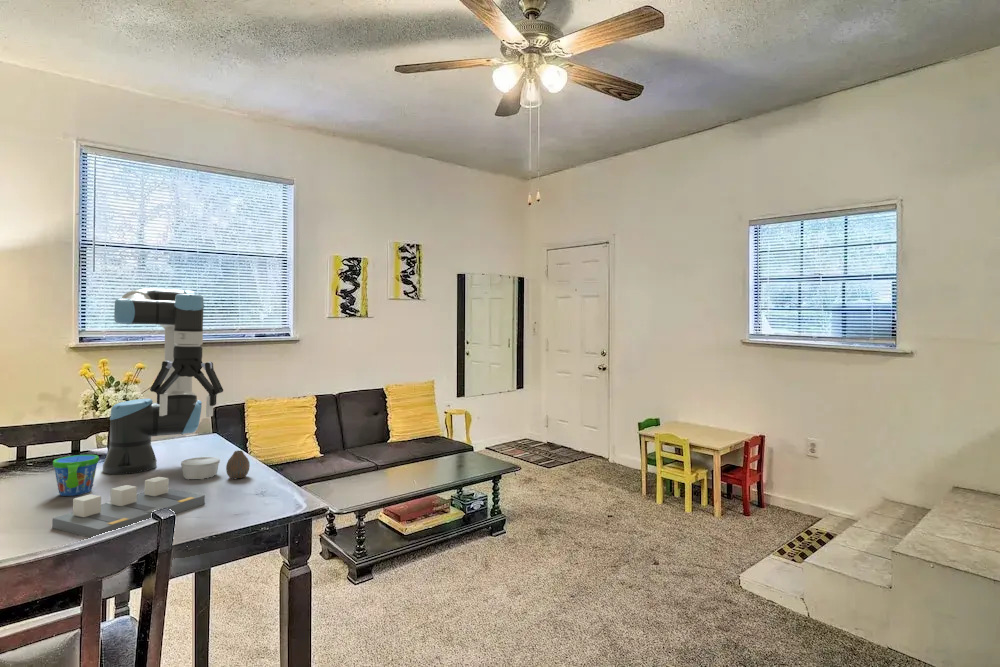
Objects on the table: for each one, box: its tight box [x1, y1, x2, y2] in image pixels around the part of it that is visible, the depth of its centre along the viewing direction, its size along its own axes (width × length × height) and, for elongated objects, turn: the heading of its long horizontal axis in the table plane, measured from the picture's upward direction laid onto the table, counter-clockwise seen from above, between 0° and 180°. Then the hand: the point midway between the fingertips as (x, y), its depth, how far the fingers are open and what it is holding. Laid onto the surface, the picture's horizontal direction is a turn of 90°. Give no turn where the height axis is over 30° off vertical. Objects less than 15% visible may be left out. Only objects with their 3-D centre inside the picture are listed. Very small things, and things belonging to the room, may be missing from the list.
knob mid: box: [110, 484, 138, 506], centre depth 140 cm, size 4×4×4 cm
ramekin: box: [180, 456, 221, 480], centre depth 175 cm, size 11×11×5 cm
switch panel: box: [51, 487, 206, 538], centre depth 139 cm, size 17×28×3 cm, turn 159°
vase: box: [225, 450, 251, 479], centre depth 175 cm, size 7×7×9 cm
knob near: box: [72, 493, 102, 517], centre depth 132 cm, size 4×4×4 cm
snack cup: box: [52, 454, 100, 497], centre depth 155 cm, size 16×10×10 cm
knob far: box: [144, 476, 169, 496], centre depth 149 cm, size 4×4×4 cm
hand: (186, 416), depth 160 cm, fingers open, 13 cm apart
